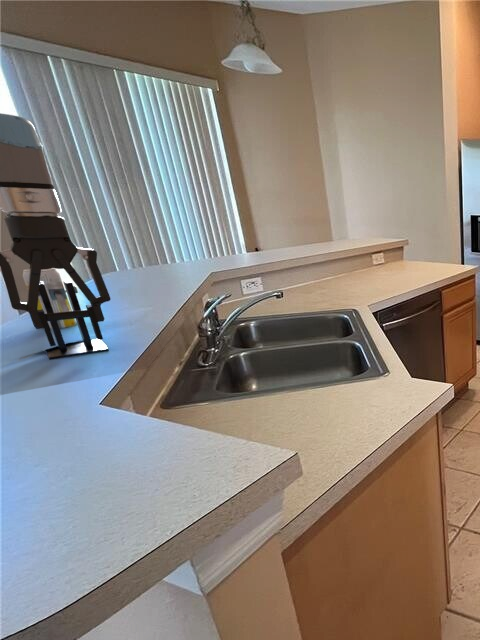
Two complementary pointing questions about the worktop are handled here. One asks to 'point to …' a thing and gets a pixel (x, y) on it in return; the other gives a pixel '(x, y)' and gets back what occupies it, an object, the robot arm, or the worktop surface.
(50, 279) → the yellow pill bottle
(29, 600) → the worktop surface
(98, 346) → the black stand frame
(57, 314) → the lever
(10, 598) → the worktop surface
